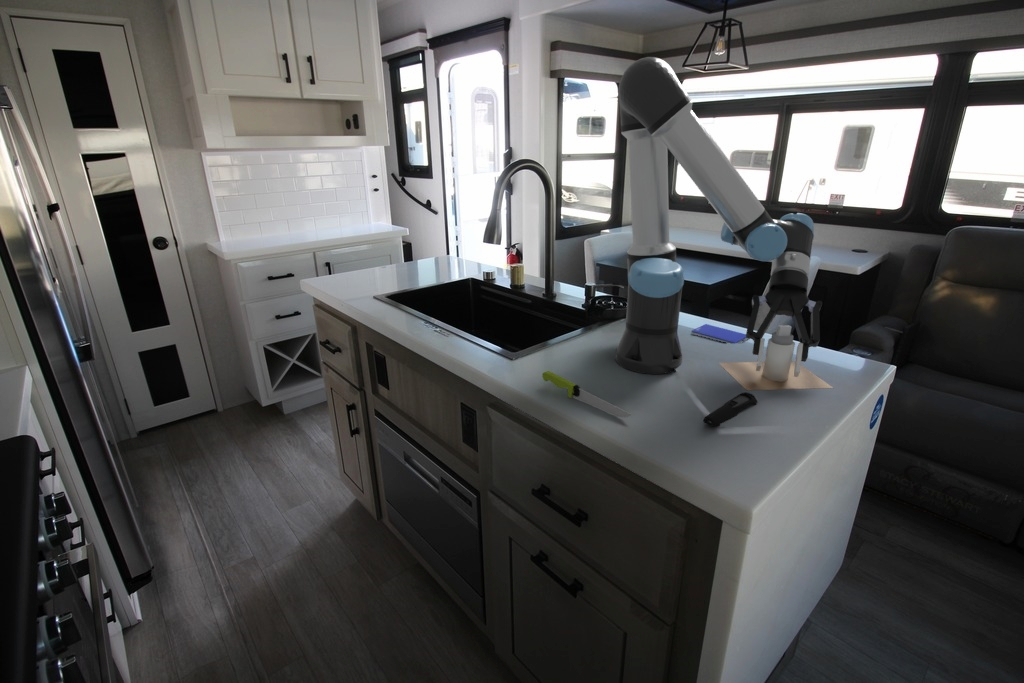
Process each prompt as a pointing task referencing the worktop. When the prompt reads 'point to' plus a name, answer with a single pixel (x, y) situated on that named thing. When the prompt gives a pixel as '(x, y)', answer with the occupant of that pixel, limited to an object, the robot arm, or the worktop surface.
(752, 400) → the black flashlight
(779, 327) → the white bottle
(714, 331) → the hard drive
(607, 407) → the kitchen knife
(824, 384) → the board
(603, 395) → the worktop surface
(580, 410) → the worktop surface
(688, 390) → the worktop surface
